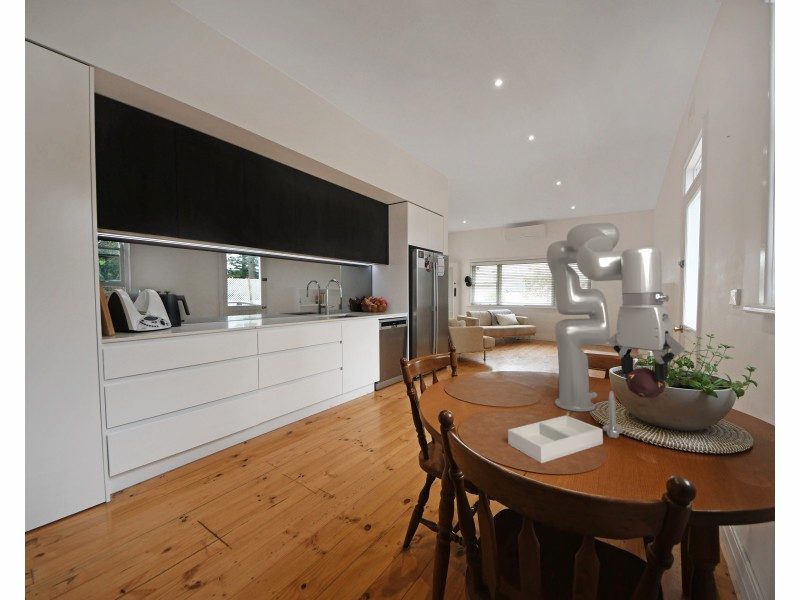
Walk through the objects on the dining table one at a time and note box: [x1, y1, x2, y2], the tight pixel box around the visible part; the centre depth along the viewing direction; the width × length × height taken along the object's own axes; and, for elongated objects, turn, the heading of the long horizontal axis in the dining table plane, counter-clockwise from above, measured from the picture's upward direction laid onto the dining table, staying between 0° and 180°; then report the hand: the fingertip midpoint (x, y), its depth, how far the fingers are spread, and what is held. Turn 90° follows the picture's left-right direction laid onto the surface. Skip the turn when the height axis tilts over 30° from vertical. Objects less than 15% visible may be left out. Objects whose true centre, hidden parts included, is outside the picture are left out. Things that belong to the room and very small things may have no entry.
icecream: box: [625, 367, 666, 399], centre depth 76 cm, size 7×7×15 cm
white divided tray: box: [507, 415, 604, 464], centre depth 89 cm, size 22×12×4 cm, turn 113°
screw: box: [602, 390, 624, 439], centre depth 92 cm, size 13×5×5 cm
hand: (643, 376), depth 76 cm, fingers closed on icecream, 6 cm apart
